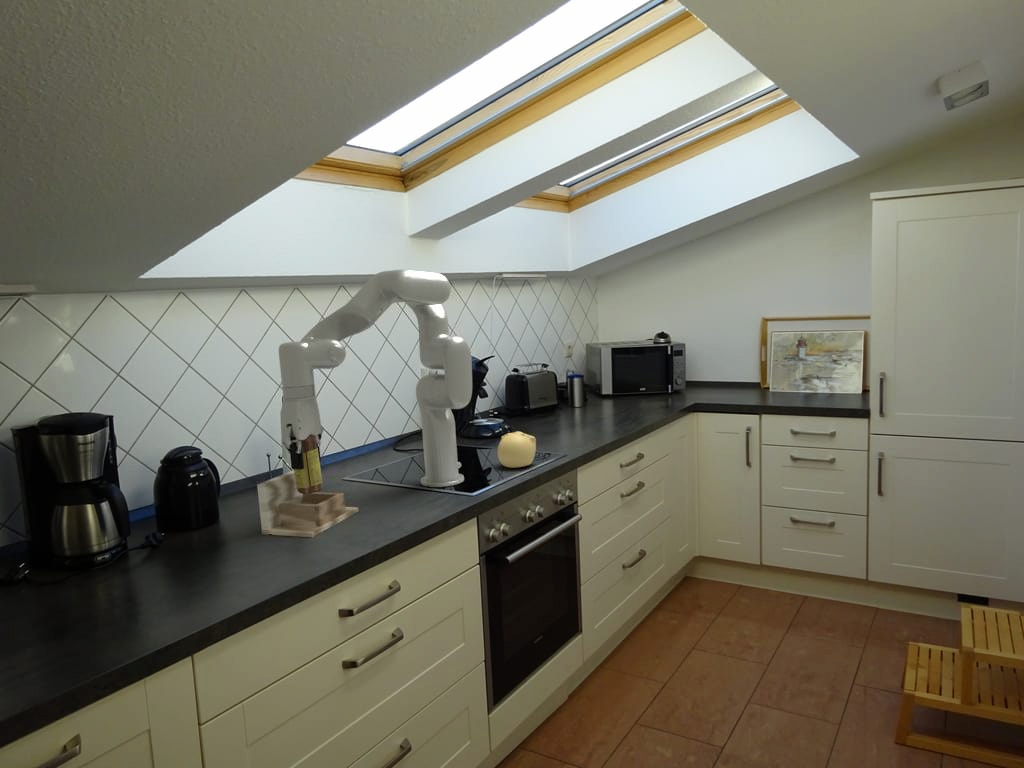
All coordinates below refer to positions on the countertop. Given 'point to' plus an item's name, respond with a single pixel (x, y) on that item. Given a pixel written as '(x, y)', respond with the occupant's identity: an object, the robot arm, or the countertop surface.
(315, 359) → the robot arm
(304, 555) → the countertop surface
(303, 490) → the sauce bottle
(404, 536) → the countertop surface
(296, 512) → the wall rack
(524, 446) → the pale yellow rounded lump
